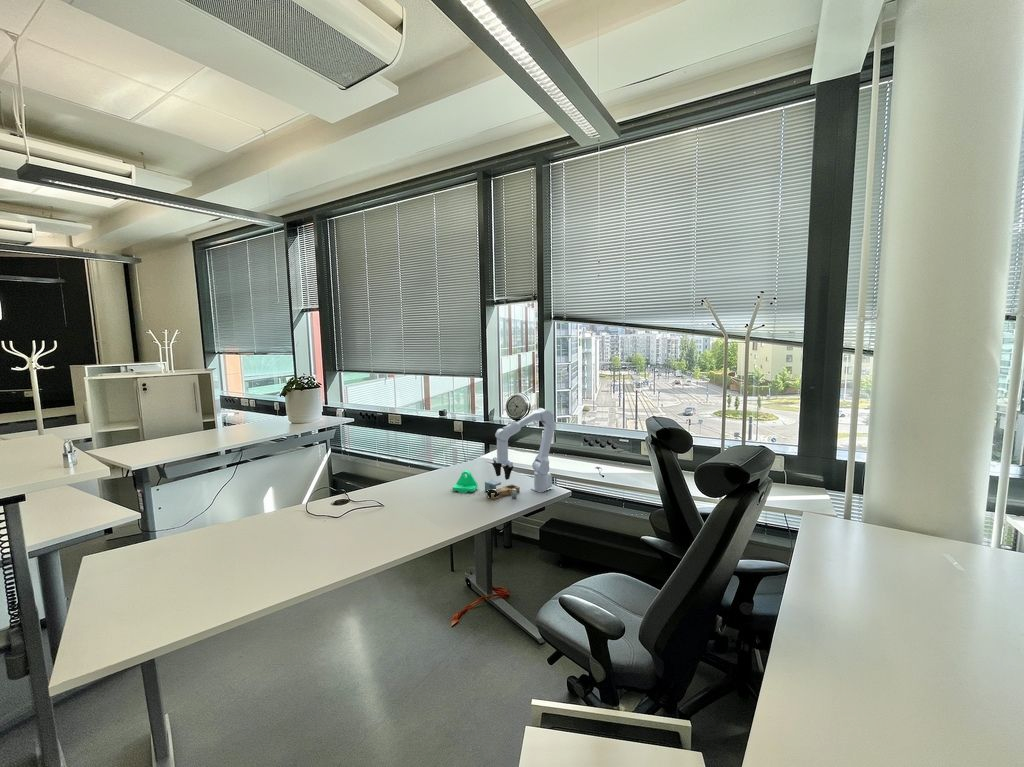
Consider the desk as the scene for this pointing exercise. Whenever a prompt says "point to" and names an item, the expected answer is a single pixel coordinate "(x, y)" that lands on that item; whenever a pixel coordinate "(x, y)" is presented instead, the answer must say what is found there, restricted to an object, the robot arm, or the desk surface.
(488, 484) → the keeper
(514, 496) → the pintle
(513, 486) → the lever
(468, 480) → the green triangular piece
